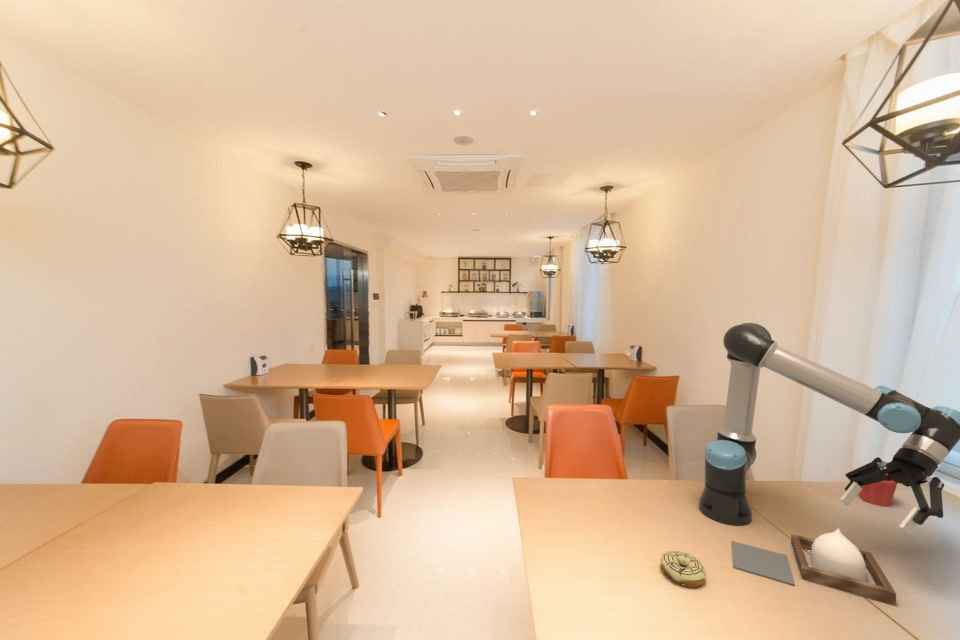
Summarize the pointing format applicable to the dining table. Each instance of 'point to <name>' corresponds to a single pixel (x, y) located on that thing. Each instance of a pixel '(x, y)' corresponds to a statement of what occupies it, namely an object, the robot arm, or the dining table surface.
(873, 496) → the flower pot
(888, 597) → the walnut collar
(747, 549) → the grey mat
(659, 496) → the dining table surface
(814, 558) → the teardrop
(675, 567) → the decorated donut
